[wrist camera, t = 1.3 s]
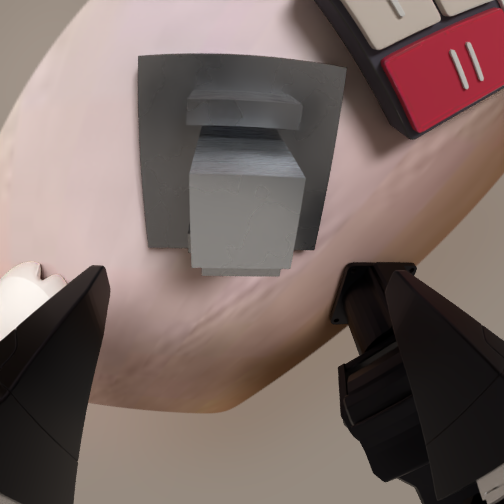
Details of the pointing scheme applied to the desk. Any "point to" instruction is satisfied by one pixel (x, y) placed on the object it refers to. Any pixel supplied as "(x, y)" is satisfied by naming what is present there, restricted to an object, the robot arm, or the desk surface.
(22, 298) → the water bottle
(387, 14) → the button control pad
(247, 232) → the column
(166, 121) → the stand base
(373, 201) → the desk surface
